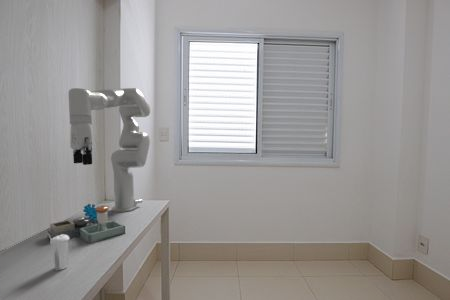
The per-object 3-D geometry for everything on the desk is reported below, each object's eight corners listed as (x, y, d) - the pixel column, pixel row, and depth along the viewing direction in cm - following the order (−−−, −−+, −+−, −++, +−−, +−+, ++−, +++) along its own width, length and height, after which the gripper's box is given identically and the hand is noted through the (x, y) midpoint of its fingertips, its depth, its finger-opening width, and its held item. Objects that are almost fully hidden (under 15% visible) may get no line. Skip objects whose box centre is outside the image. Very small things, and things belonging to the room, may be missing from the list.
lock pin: (106, 230, 98) (105, 205, 97) (110, 233, 95) (110, 207, 94) (94, 233, 94) (93, 207, 94) (98, 236, 91) (98, 209, 91)
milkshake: (54, 264, 72) (53, 230, 71) (73, 263, 72) (72, 229, 72) (44, 272, 67) (42, 236, 67) (64, 271, 68) (63, 235, 67)
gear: (93, 221, 105) (81, 204, 108) (84, 231, 106) (72, 213, 108) (111, 217, 116) (99, 201, 118) (103, 226, 117) (91, 210, 119)
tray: (114, 227, 103) (114, 220, 102) (125, 233, 96) (125, 225, 96) (79, 236, 93) (79, 228, 93) (89, 243, 86) (88, 235, 86)
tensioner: (88, 227, 103) (87, 214, 103) (94, 232, 97) (94, 218, 97) (47, 237, 93) (46, 222, 93) (52, 242, 87) (52, 227, 87)
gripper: (62, 121, 100) (64, 163, 101) (78, 118, 89) (80, 166, 90) (82, 122, 106) (84, 161, 107) (100, 119, 95) (101, 164, 95)
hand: (82, 163), depth 98 cm, fingers open, 9 cm apart
